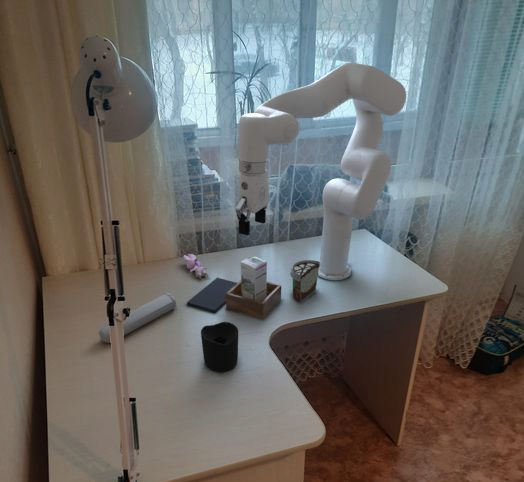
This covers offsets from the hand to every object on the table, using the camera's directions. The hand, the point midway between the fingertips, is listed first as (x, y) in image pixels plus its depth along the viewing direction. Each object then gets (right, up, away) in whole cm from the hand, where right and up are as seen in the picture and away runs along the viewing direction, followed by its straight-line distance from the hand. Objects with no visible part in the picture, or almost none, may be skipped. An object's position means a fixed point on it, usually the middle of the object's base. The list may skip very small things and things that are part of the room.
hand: (252, 228), depth 140 cm
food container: (+15, -16, +20) cm, 30 cm away
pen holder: (-8, -38, -10) cm, 40 cm away
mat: (-12, -17, +18) cm, 27 cm away
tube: (-33, -27, +4) cm, 43 cm away
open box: (0, -20, +14) cm, 25 cm away
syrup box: (0, -20, +14) cm, 24 cm away
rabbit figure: (-20, -7, +31) cm, 38 cm away
